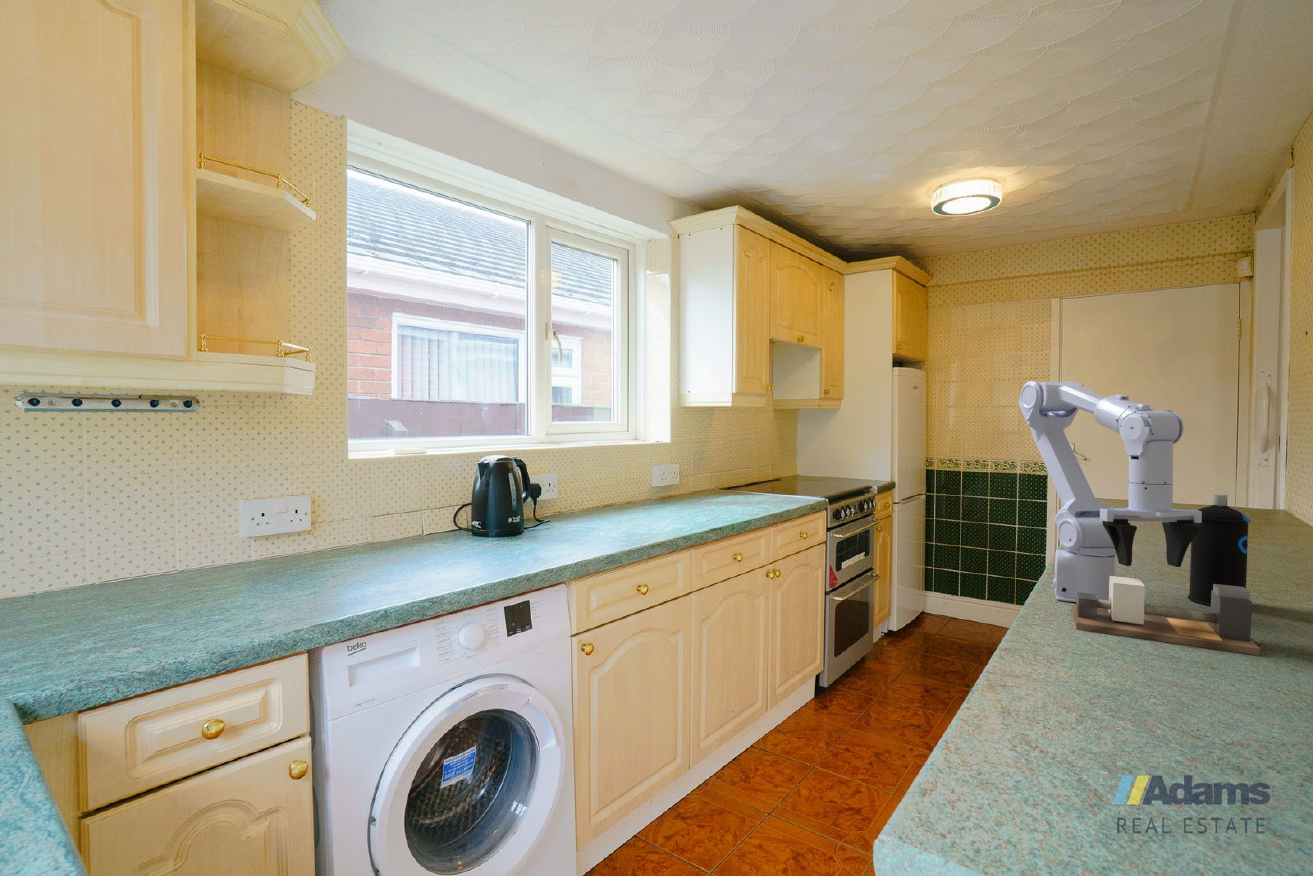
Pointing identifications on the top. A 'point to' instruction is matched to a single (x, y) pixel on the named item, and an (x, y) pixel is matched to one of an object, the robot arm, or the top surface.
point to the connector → (1231, 612)
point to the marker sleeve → (1126, 599)
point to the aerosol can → (1218, 550)
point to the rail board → (1157, 625)
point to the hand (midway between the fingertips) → (1149, 565)
